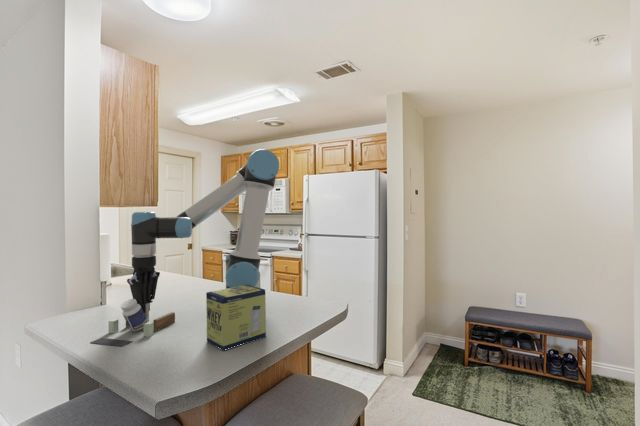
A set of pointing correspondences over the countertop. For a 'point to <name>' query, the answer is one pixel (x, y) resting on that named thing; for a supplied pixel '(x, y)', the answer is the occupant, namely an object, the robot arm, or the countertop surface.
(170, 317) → the lane
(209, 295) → the protein box
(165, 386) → the countertop surface
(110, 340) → the mat
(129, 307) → the pill bottle
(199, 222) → the robot arm
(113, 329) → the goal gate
